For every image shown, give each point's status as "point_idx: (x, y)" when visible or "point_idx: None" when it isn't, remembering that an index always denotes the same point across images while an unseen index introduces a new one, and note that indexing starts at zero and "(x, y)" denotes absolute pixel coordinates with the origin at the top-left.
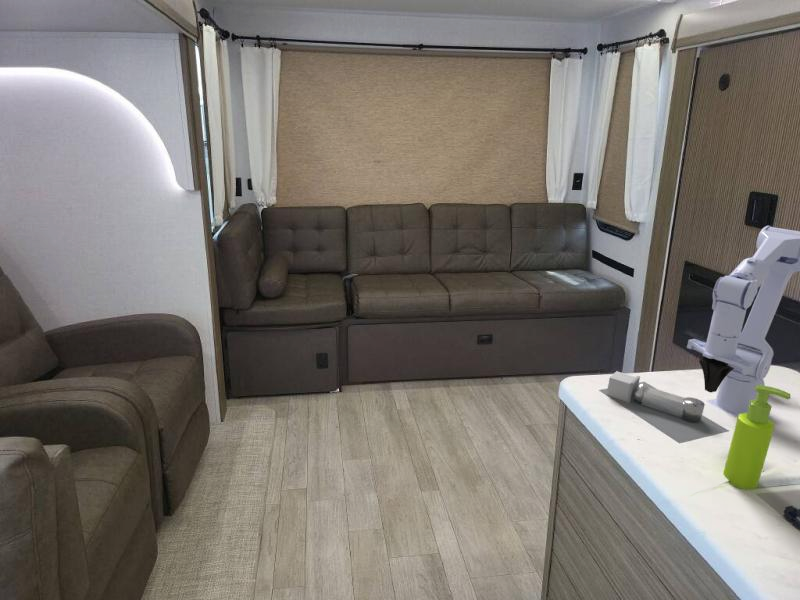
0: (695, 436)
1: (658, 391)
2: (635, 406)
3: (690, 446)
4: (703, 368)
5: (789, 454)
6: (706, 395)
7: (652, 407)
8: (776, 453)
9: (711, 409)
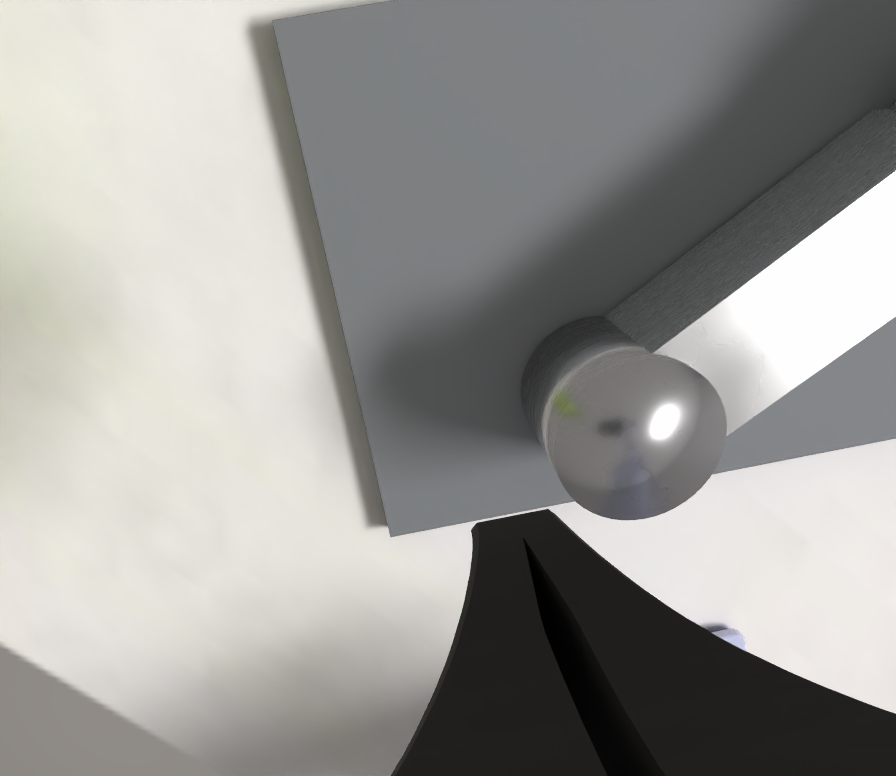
0: (351, 243)
1: None
2: (874, 40)
3: (256, 124)
4: (750, 687)
5: (131, 702)
6: None
7: (797, 170)
8: (143, 644)
9: None
